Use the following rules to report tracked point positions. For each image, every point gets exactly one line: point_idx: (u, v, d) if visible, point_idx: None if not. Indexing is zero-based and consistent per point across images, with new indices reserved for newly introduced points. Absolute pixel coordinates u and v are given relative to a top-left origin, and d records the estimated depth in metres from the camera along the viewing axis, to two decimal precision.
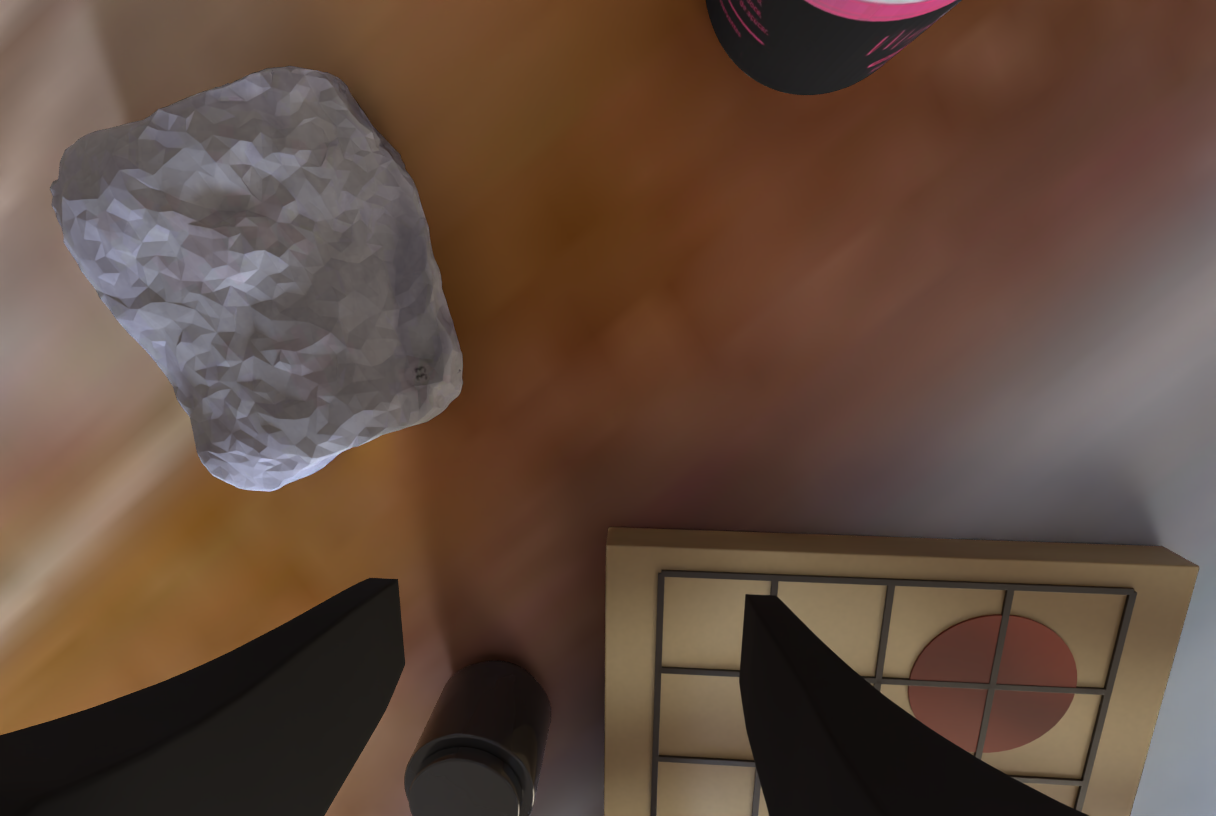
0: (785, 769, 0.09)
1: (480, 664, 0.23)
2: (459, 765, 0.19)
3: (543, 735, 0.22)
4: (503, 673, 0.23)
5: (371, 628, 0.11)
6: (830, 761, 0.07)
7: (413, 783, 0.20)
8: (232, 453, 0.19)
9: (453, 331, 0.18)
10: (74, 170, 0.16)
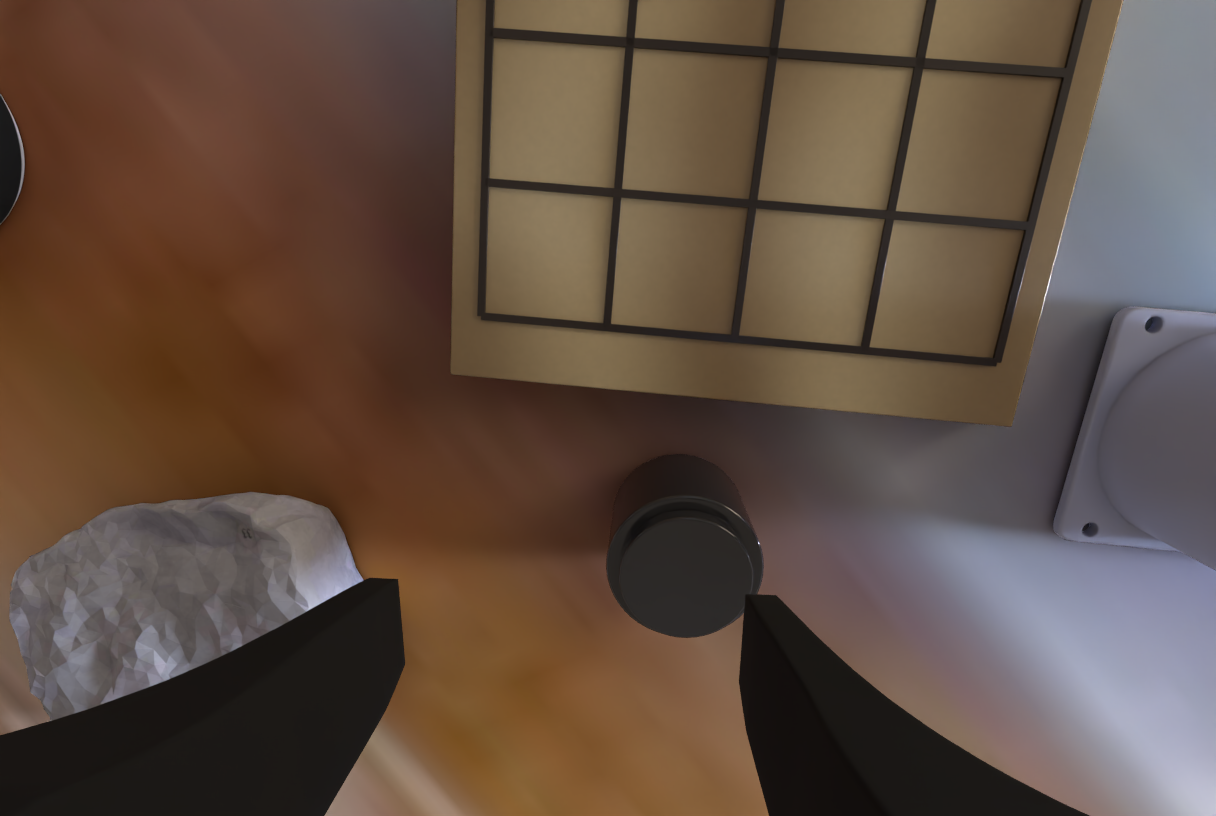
0: (785, 769, 0.09)
1: None
2: (626, 574, 0.17)
3: (674, 470, 0.19)
4: (615, 501, 0.20)
5: (371, 628, 0.11)
6: (830, 761, 0.07)
7: (651, 627, 0.17)
8: None
9: (219, 497, 0.20)
10: None
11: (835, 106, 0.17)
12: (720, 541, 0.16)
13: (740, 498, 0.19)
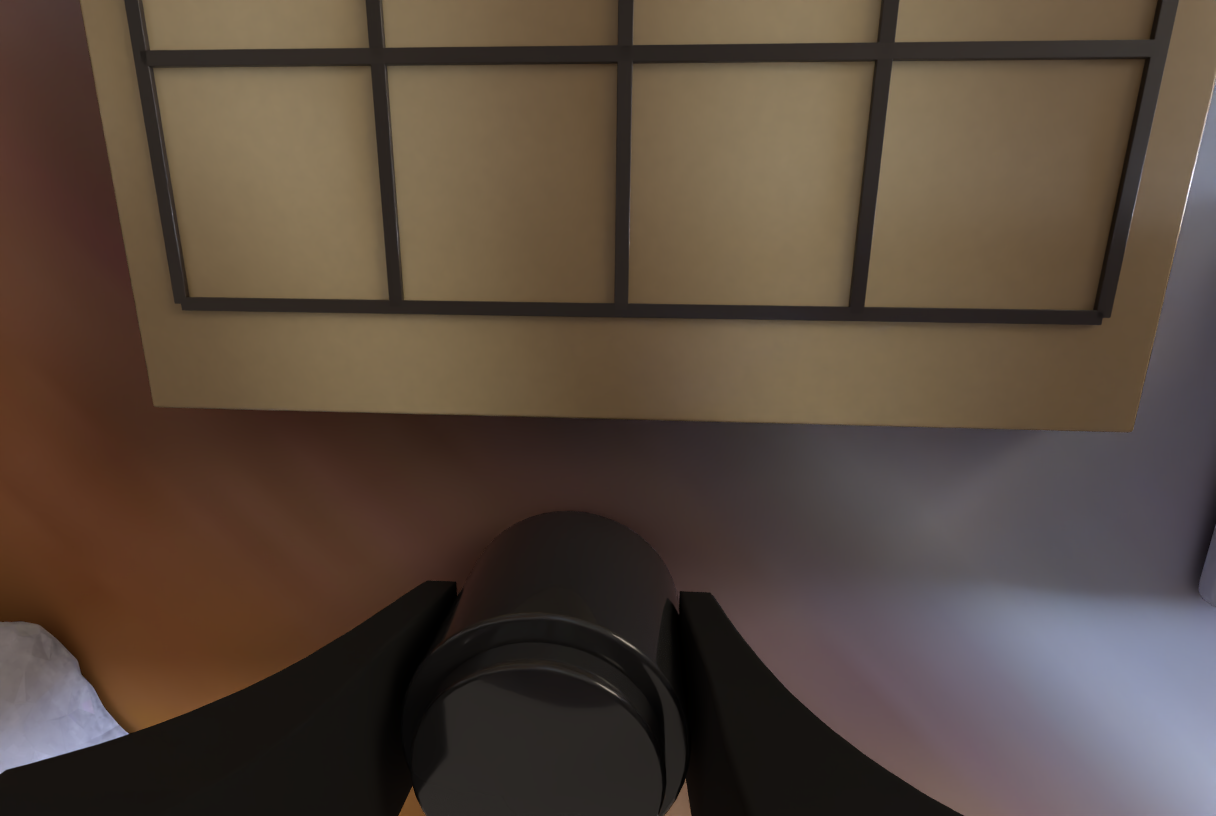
0: (699, 764, 0.09)
1: None
2: (422, 774, 0.09)
3: (537, 548, 0.11)
4: None
5: (435, 631, 0.11)
6: (720, 755, 0.07)
7: None
8: None
9: None
10: None
11: None
12: (592, 707, 0.08)
13: (659, 586, 0.11)
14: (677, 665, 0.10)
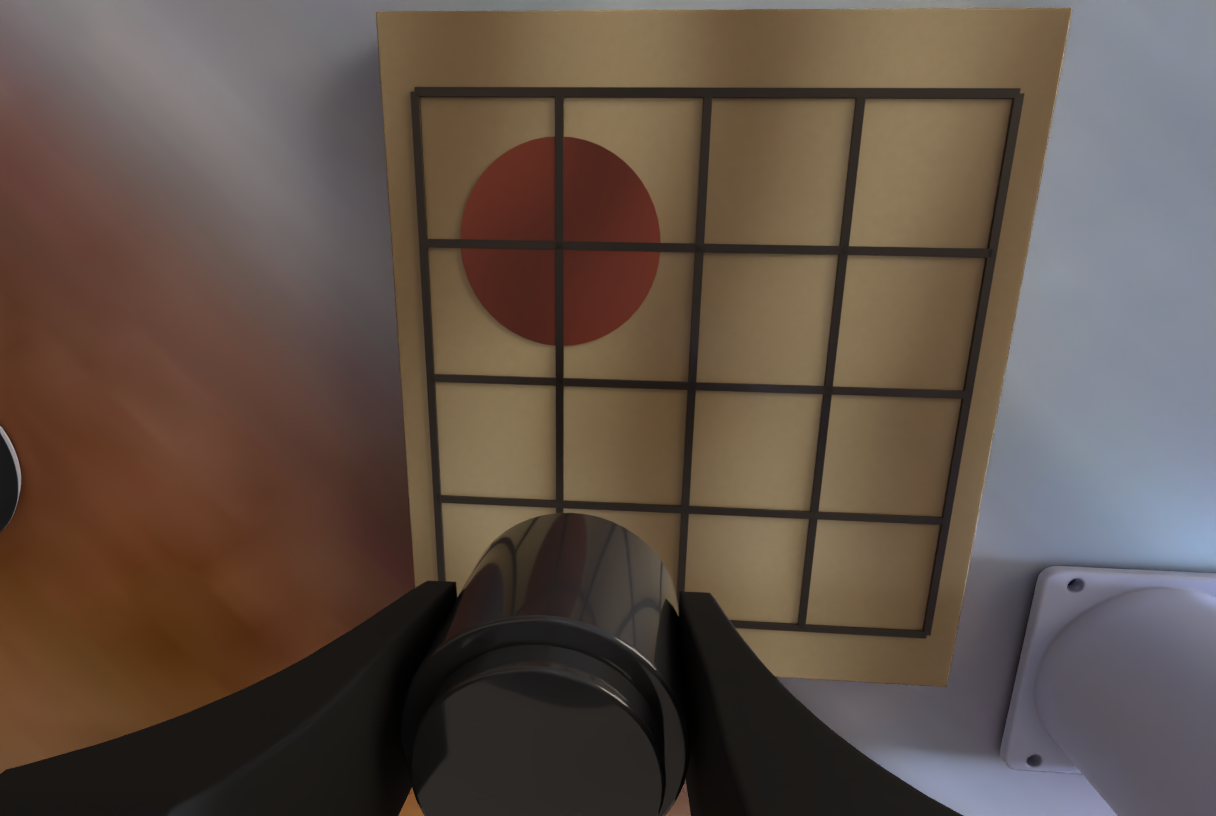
0: (699, 764, 0.09)
1: None
2: (422, 776, 0.09)
3: (536, 549, 0.11)
4: None
5: (435, 631, 0.11)
6: (720, 755, 0.07)
7: None
8: None
9: None
10: None
11: (753, 427, 0.18)
12: (592, 709, 0.08)
13: (659, 588, 0.11)
14: (676, 667, 0.10)
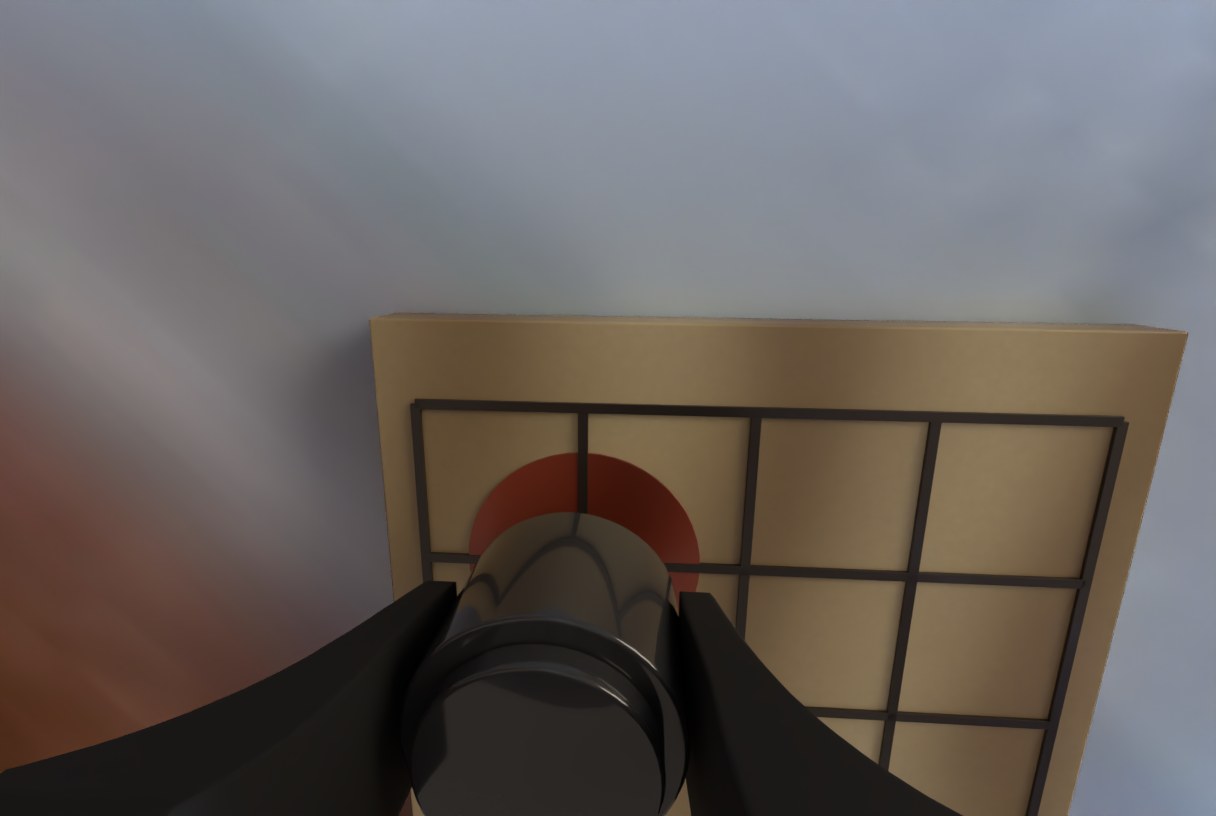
0: (699, 764, 0.09)
1: None
2: (422, 776, 0.09)
3: (536, 549, 0.11)
4: None
5: (435, 631, 0.11)
6: (719, 754, 0.07)
7: None
8: None
9: None
10: None
11: None
12: (592, 709, 0.08)
13: (659, 587, 0.11)
14: (676, 666, 0.10)
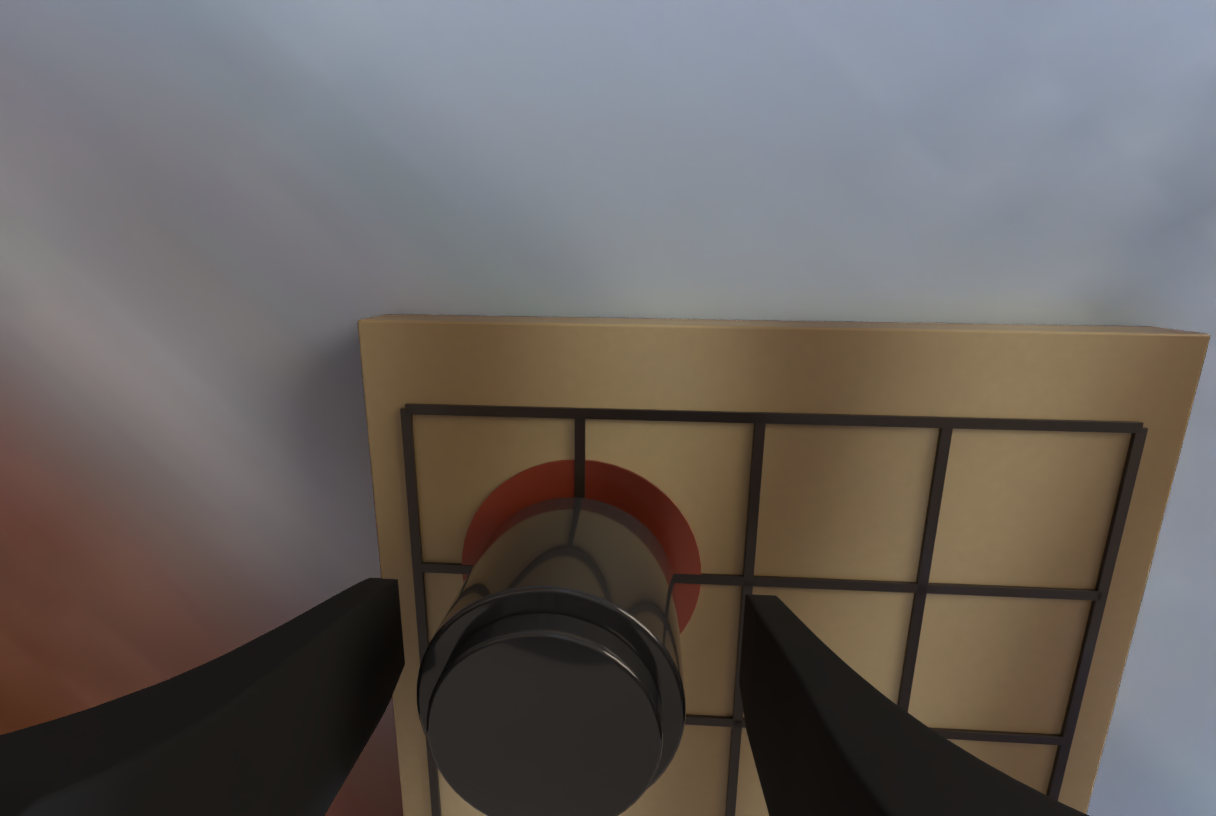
0: (785, 769, 0.09)
1: None
2: (438, 735, 0.09)
3: (542, 530, 0.11)
4: None
5: (371, 628, 0.11)
6: (830, 761, 0.07)
7: None
8: None
9: None
10: None
11: None
12: (595, 671, 0.09)
13: (657, 566, 0.12)
14: (673, 637, 0.10)
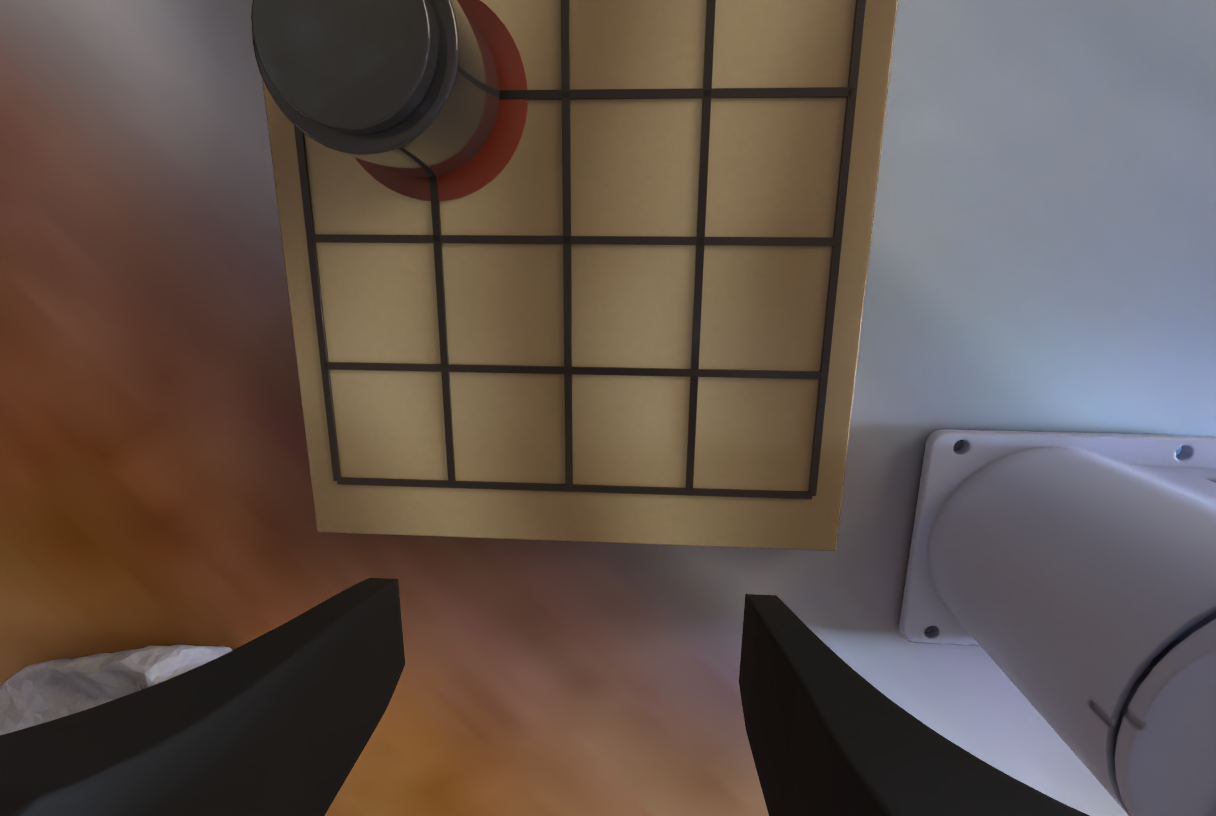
0: (785, 769, 0.09)
1: None
2: (260, 32, 0.12)
3: None
4: None
5: (371, 628, 0.11)
6: (830, 761, 0.07)
7: (311, 117, 0.13)
8: None
9: (119, 655, 0.22)
10: None
11: (630, 282, 0.18)
12: None
13: (466, 12, 0.15)
14: (457, 4, 0.13)
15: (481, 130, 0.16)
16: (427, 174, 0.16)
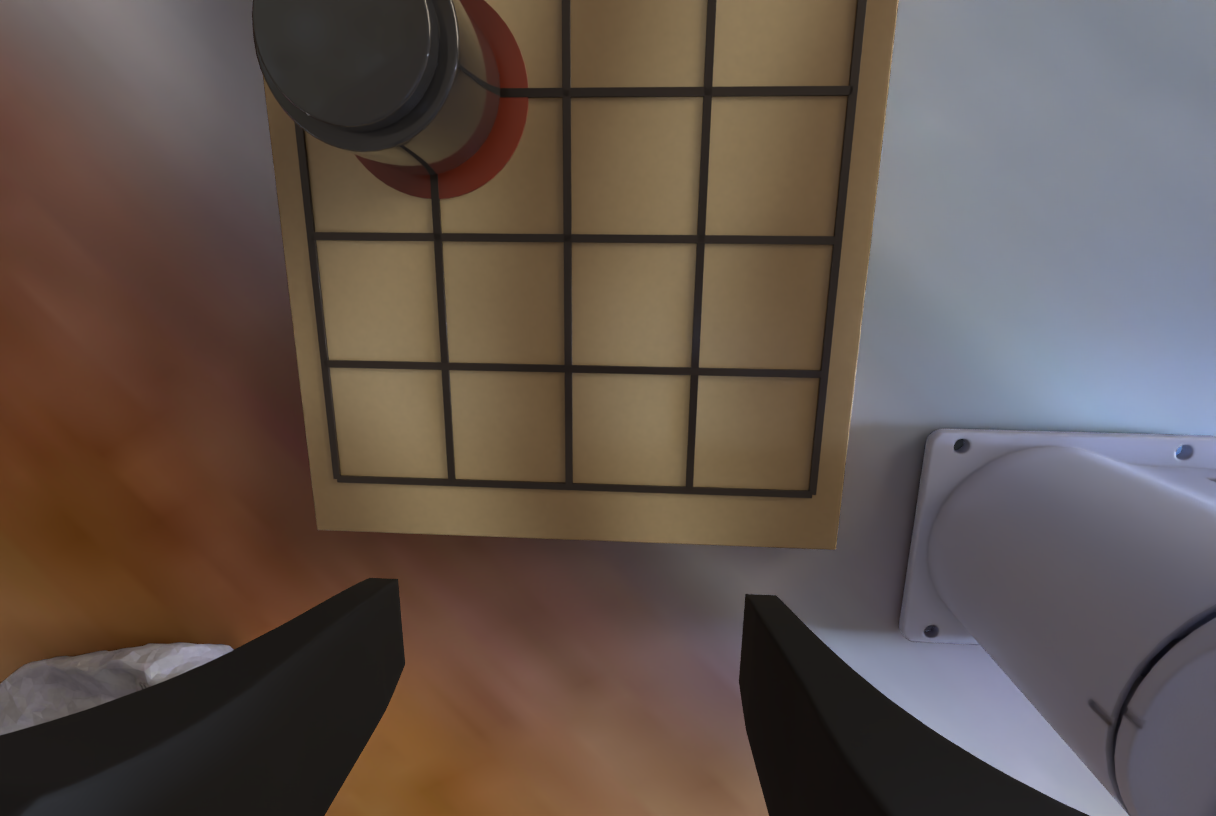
0: (785, 769, 0.09)
1: None
2: (261, 29, 0.12)
3: None
4: None
5: (371, 628, 0.11)
6: (830, 761, 0.07)
7: (311, 114, 0.13)
8: None
9: (118, 652, 0.22)
10: None
11: (631, 280, 0.18)
12: None
13: None
14: (458, 1, 0.13)
15: (482, 128, 0.16)
16: (427, 172, 0.16)
